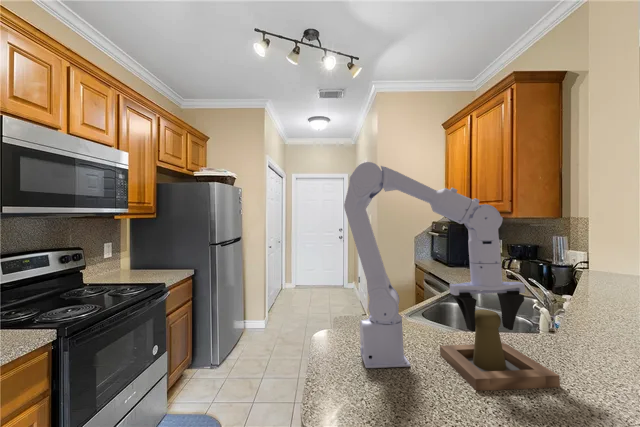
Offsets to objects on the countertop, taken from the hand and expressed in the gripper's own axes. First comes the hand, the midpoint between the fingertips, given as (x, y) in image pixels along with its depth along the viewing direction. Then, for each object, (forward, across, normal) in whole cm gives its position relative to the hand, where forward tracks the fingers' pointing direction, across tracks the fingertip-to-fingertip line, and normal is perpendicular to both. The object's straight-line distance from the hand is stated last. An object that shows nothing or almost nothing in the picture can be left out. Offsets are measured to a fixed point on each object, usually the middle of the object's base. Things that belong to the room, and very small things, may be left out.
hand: (489, 329), depth 59 cm
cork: (+8, 0, -1) cm, 8 cm away
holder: (+8, 0, 0) cm, 8 cm away
